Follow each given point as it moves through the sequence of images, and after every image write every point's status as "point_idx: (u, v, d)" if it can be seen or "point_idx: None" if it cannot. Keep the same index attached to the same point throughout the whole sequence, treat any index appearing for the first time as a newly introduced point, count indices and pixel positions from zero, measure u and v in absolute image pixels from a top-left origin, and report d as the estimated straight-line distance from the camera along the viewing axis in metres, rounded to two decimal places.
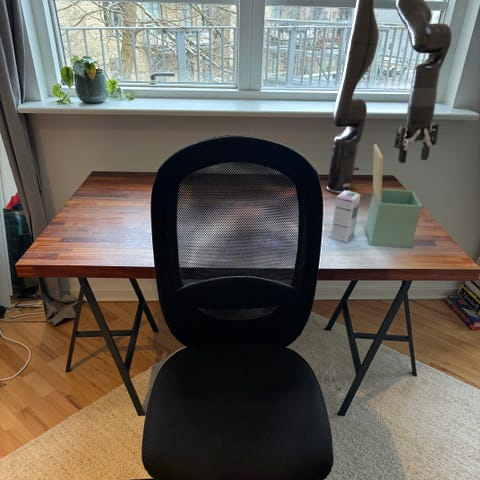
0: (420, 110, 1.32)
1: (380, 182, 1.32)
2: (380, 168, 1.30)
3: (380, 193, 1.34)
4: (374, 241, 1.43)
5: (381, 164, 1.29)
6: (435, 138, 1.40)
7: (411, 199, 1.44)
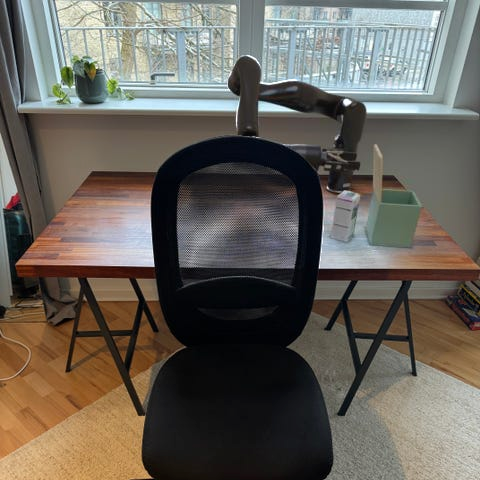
0: (309, 151, 1.32)
1: (380, 182, 1.32)
2: (380, 168, 1.30)
3: (380, 193, 1.34)
4: (374, 241, 1.43)
5: (381, 164, 1.29)
6: (335, 149, 1.40)
7: (411, 199, 1.44)
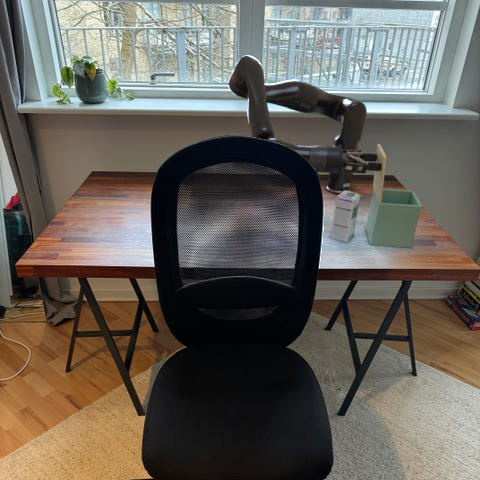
0: (330, 153, 1.32)
1: (382, 182, 1.32)
2: (383, 168, 1.30)
3: (381, 193, 1.34)
4: (374, 241, 1.43)
5: (384, 164, 1.29)
6: (356, 150, 1.40)
7: (411, 199, 1.44)
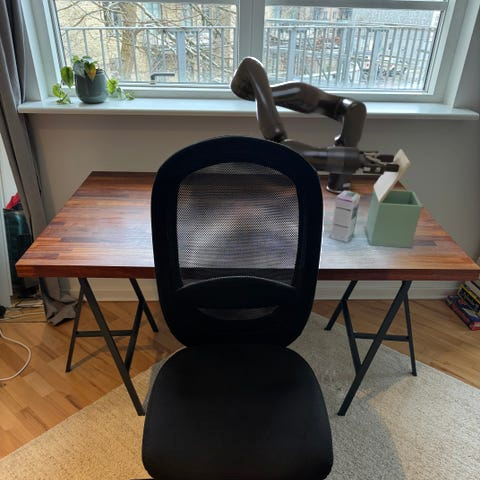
0: (347, 154, 1.32)
1: (392, 184, 1.32)
2: (401, 172, 1.30)
3: (385, 194, 1.34)
4: (374, 241, 1.43)
5: (405, 169, 1.29)
6: (372, 151, 1.39)
7: (411, 199, 1.44)
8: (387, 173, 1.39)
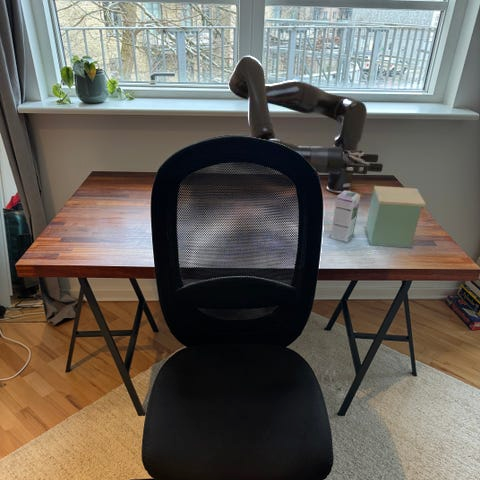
0: (331, 153, 1.32)
1: (400, 203, 1.35)
2: (414, 204, 1.35)
3: (389, 203, 1.35)
4: (374, 241, 1.43)
5: (418, 205, 1.35)
6: (356, 151, 1.39)
7: None
8: (396, 191, 1.42)
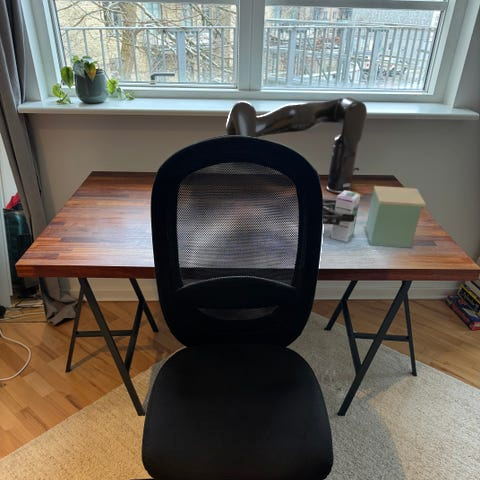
0: None
1: (400, 203, 1.35)
2: (414, 204, 1.35)
3: (389, 203, 1.35)
4: (374, 241, 1.43)
5: (418, 205, 1.35)
6: (332, 200, 1.48)
7: None
8: (396, 191, 1.42)
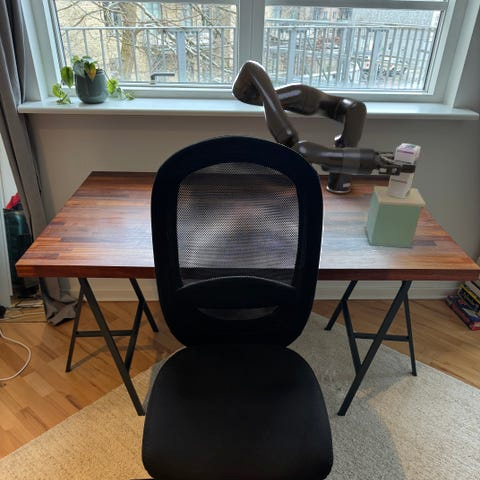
0: (363, 155, 1.32)
1: (400, 203, 1.35)
2: (414, 204, 1.35)
3: (389, 203, 1.35)
4: (374, 241, 1.43)
5: (418, 205, 1.35)
6: (387, 152, 1.39)
7: None
8: None
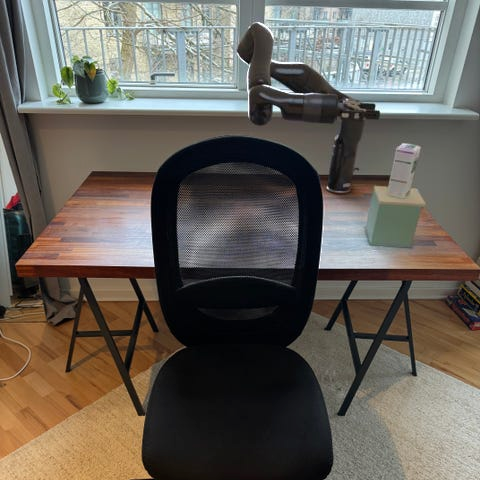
0: (325, 100, 1.24)
1: (400, 203, 1.35)
2: (414, 204, 1.35)
3: (389, 203, 1.35)
4: (374, 241, 1.43)
5: (418, 205, 1.35)
6: (352, 100, 1.31)
7: None
8: None
